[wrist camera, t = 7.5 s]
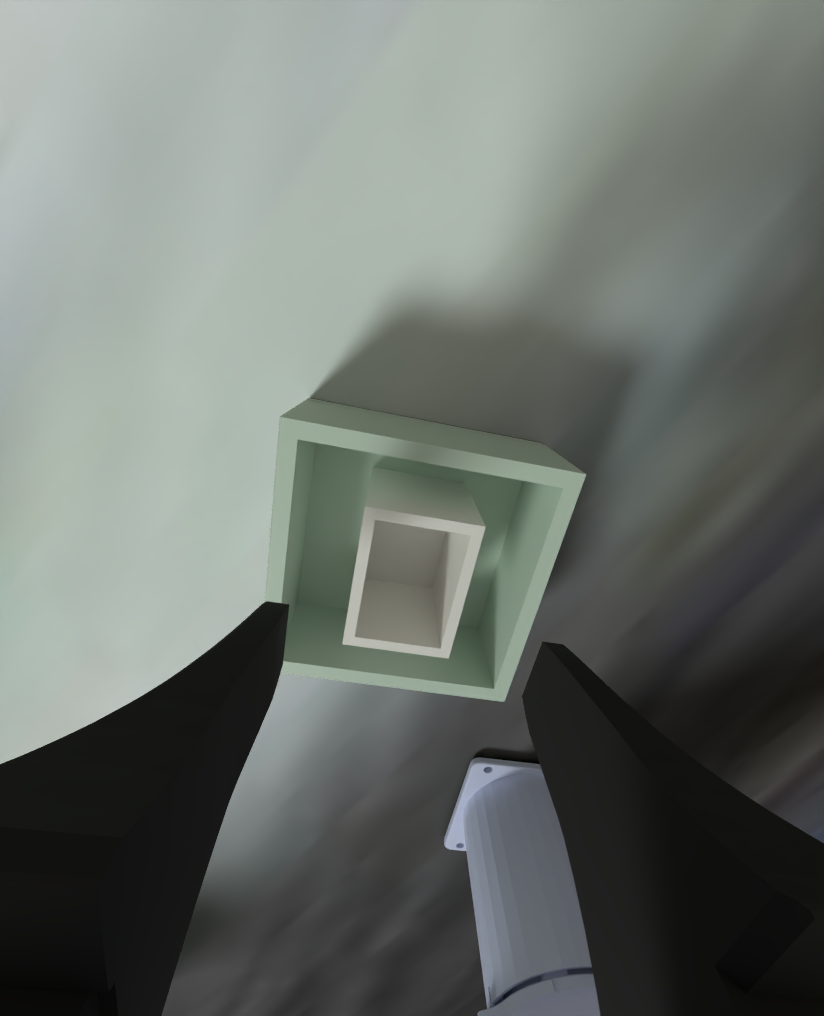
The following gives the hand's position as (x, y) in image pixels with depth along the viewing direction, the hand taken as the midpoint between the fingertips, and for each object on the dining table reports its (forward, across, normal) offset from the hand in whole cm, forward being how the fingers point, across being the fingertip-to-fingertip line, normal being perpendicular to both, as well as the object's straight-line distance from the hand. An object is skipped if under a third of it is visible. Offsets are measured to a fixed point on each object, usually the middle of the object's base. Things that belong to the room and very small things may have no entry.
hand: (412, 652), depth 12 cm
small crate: (+8, 0, 0) cm, 8 cm away
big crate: (+8, 0, 0) cm, 8 cm away
